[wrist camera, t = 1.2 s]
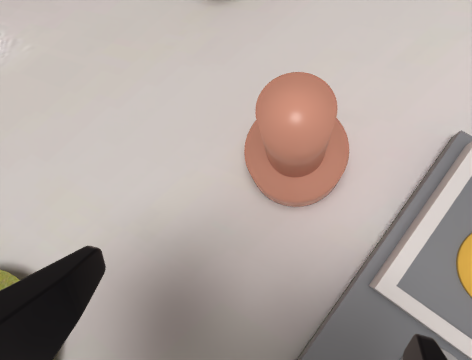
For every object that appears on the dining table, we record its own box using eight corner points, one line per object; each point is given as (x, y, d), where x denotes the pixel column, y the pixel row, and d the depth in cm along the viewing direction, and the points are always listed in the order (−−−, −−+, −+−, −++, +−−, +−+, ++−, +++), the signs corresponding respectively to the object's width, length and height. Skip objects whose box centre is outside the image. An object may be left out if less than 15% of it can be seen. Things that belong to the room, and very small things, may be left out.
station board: (418, 626, 17) (441, 695, 14) (236, 446, 20) (227, 476, 18) (654, 248, 19) (715, 248, 16) (452, 136, 22) (474, 120, 19)
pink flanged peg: (266, 218, 23) (248, 198, 14) (239, 136, 25) (209, 73, 16) (356, 189, 22) (395, 150, 14) (323, 107, 24) (339, 25, 15)
